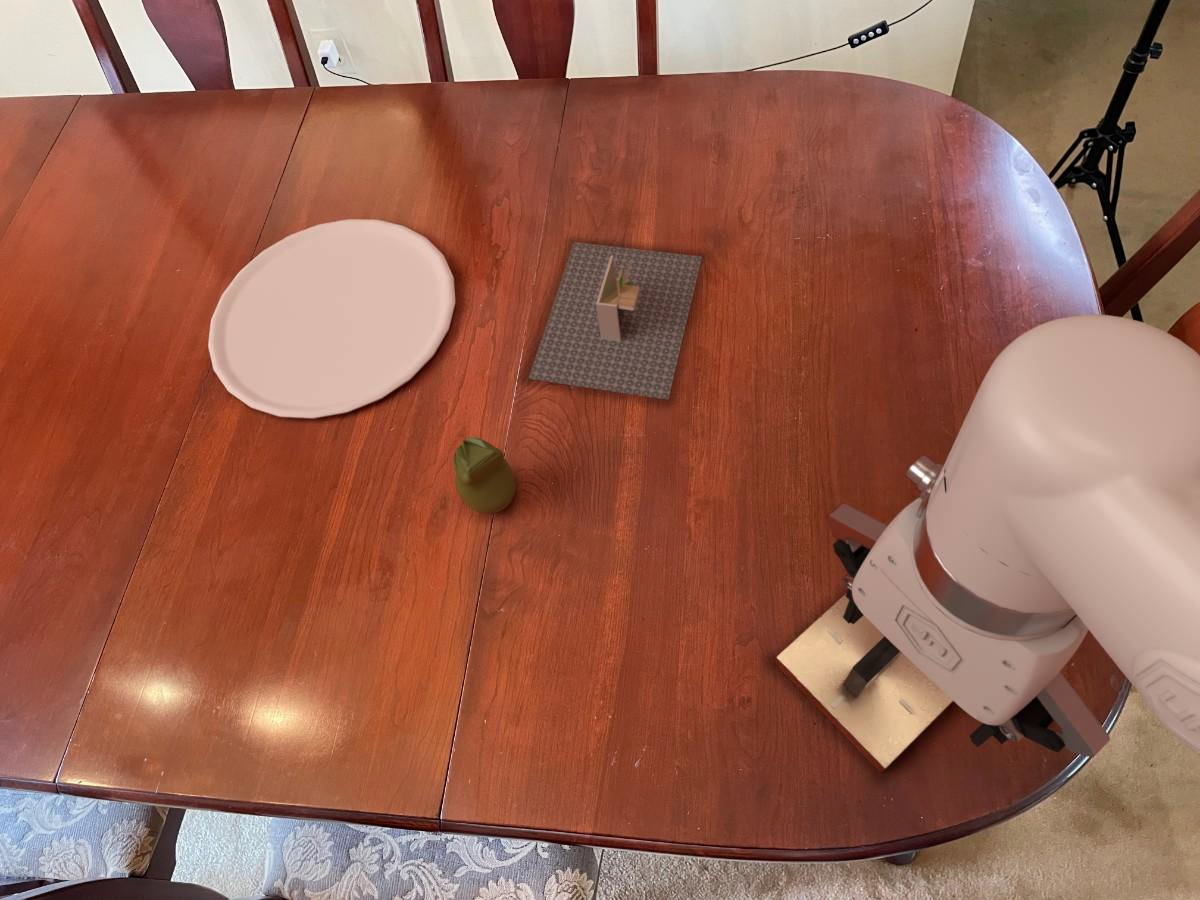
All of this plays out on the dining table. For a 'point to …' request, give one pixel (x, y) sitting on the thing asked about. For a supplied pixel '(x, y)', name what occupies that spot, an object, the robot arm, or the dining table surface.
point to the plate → (332, 318)
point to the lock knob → (871, 666)
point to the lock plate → (884, 708)
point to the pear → (483, 476)
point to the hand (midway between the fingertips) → (924, 664)
